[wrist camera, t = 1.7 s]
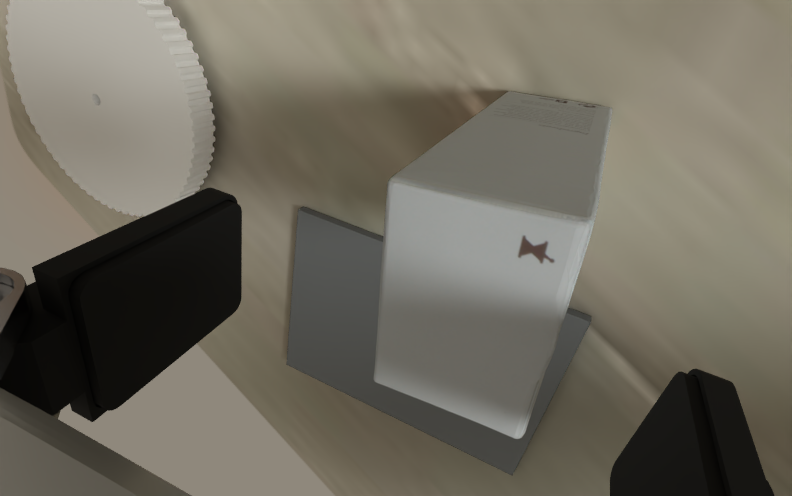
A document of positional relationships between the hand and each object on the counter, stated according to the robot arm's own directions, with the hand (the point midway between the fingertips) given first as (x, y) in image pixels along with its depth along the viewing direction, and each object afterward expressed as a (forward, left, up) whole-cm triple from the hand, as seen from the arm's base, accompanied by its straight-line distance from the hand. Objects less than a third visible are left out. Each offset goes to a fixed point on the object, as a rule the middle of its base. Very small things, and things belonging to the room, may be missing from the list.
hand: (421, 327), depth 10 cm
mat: (+3, +12, -13) cm, 18 cm away
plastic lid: (+23, +3, -13) cm, 27 cm away
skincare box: (-1, 0, -13) cm, 13 cm away
